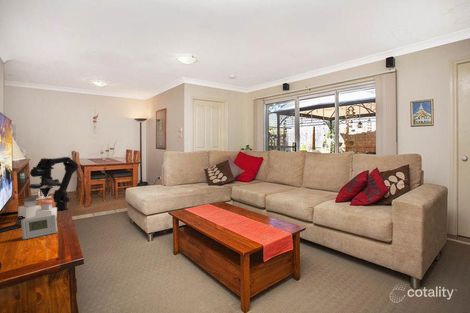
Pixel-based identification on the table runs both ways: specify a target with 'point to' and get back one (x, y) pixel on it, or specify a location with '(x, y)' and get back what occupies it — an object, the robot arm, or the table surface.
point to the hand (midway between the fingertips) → (45, 196)
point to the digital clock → (38, 226)
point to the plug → (29, 202)
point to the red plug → (46, 204)
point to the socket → (28, 211)
